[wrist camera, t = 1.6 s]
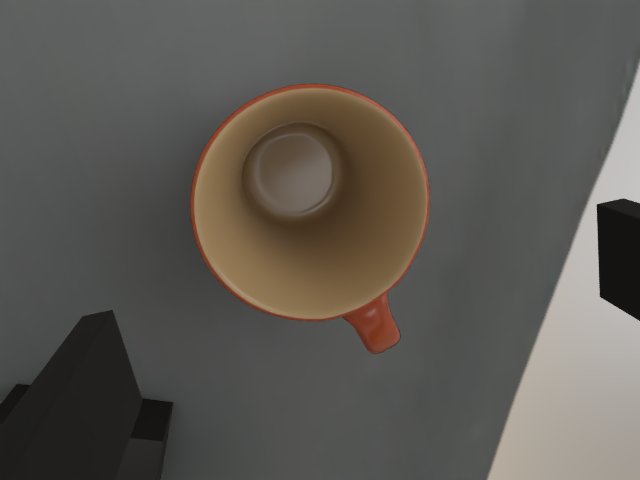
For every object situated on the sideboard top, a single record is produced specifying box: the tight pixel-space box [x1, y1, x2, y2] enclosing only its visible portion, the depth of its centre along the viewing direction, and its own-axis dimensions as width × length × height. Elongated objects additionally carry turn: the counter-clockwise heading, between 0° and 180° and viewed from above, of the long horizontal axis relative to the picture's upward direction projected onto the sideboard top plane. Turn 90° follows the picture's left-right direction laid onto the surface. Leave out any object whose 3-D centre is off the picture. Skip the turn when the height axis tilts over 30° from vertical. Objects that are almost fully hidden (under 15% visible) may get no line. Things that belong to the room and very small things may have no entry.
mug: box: [190, 84, 430, 354], centre depth 25 cm, size 12×9×10 cm
